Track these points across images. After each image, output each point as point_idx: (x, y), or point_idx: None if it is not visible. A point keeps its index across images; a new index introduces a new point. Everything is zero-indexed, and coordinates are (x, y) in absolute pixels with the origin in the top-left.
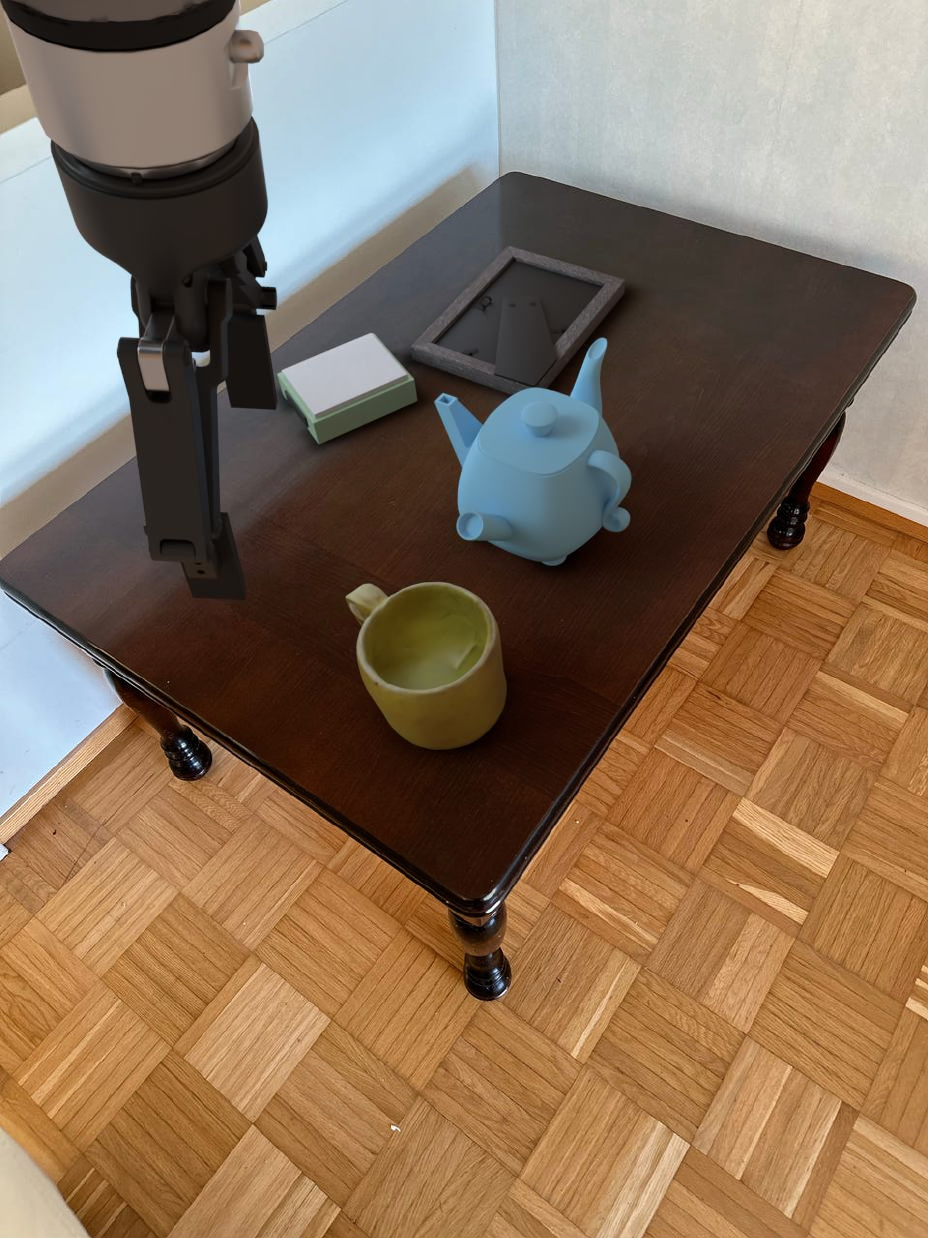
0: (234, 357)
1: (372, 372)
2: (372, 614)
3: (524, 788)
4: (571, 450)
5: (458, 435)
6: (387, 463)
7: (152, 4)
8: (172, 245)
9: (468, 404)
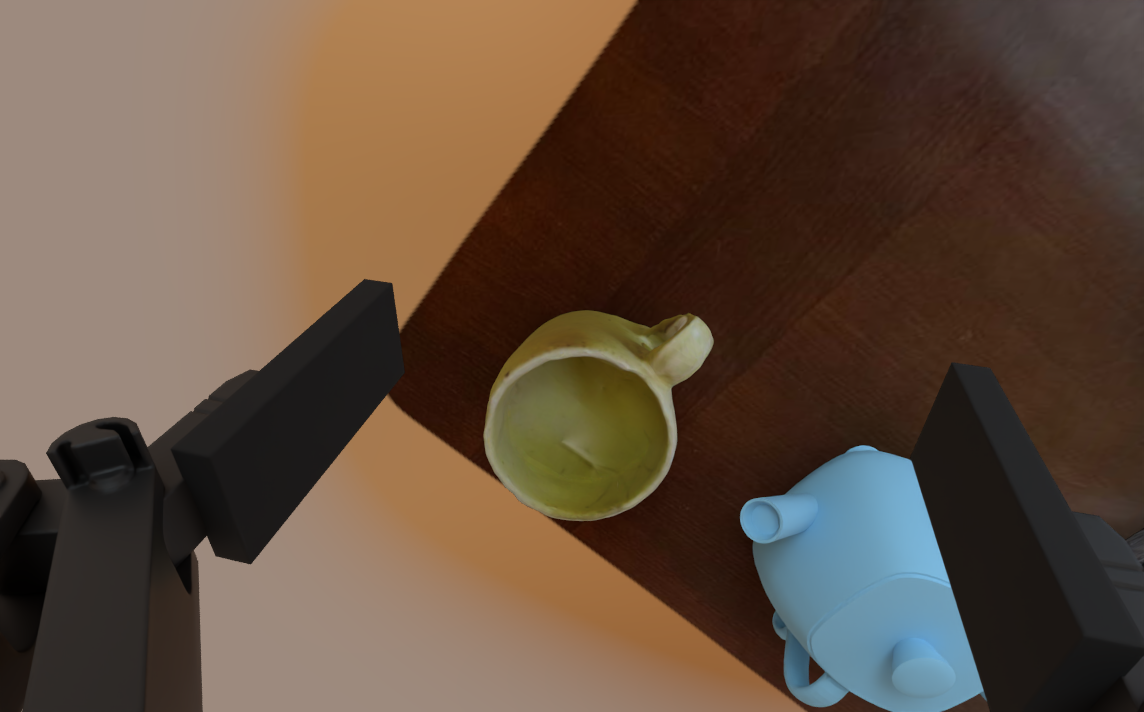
0: (996, 530)
1: None
2: (634, 370)
3: (479, 437)
4: (849, 673)
5: None
6: (1070, 333)
7: None
8: None
9: None
